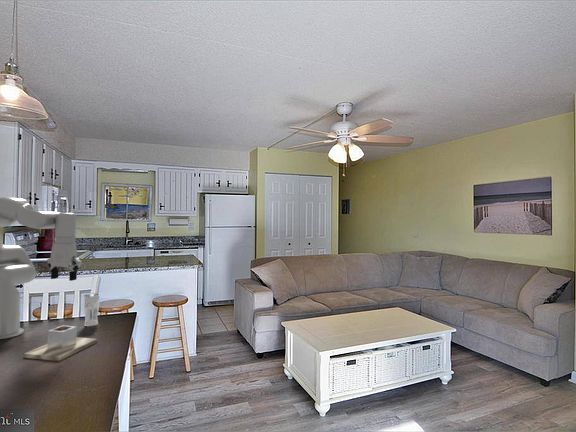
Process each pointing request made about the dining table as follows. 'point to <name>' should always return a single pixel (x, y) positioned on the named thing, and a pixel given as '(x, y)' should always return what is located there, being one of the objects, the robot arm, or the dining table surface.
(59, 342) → the white open box
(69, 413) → the dining table surface
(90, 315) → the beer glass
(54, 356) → the board
